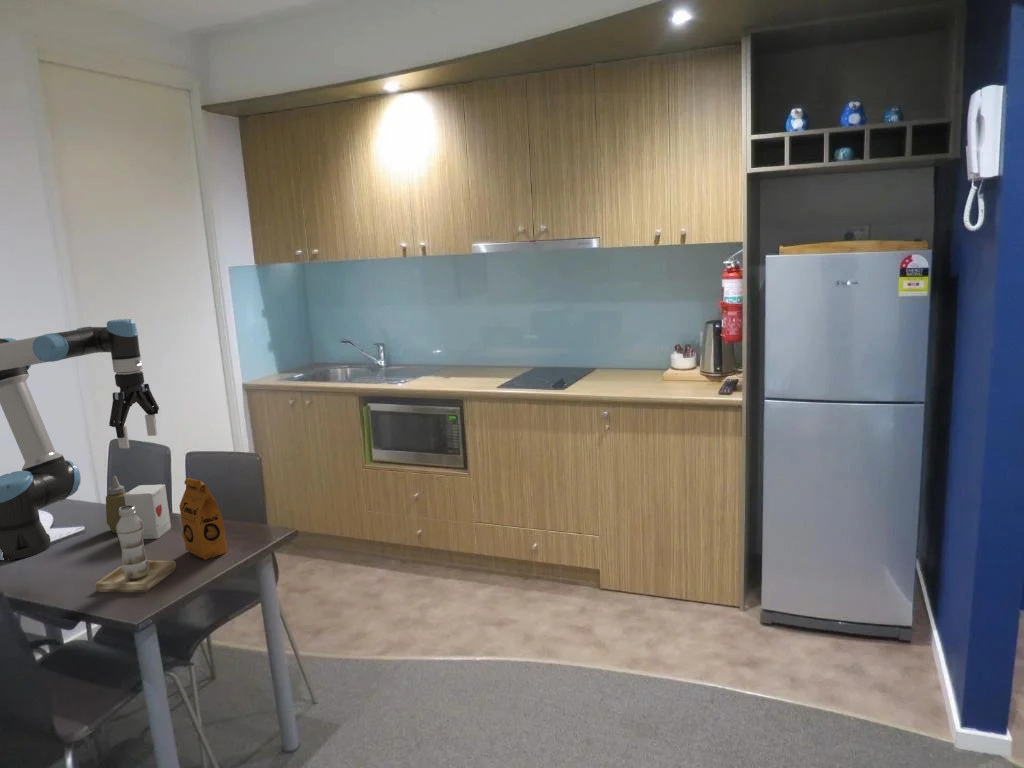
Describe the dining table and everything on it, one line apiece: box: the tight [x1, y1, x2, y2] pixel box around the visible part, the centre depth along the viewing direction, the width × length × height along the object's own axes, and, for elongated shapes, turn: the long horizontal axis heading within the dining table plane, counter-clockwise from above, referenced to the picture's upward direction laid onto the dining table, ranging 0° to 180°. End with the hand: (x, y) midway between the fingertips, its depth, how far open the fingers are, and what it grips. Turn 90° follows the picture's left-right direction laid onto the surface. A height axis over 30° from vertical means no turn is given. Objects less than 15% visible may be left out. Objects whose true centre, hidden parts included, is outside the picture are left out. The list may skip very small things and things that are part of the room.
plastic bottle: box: [116, 505, 149, 580], centre depth 195 cm, size 6×7×20 cm
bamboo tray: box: [94, 559, 177, 594], centre depth 197 cm, size 14×14×2 cm
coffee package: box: [179, 477, 228, 561], centre depth 212 cm, size 10×12×22 cm
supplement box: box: [124, 484, 172, 540], centre depth 228 cm, size 9×9×15 cm
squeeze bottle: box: [105, 475, 128, 534], centre depth 232 cm, size 8×8×18 cm
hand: (139, 441), depth 218 cm, fingers open, 13 cm apart
